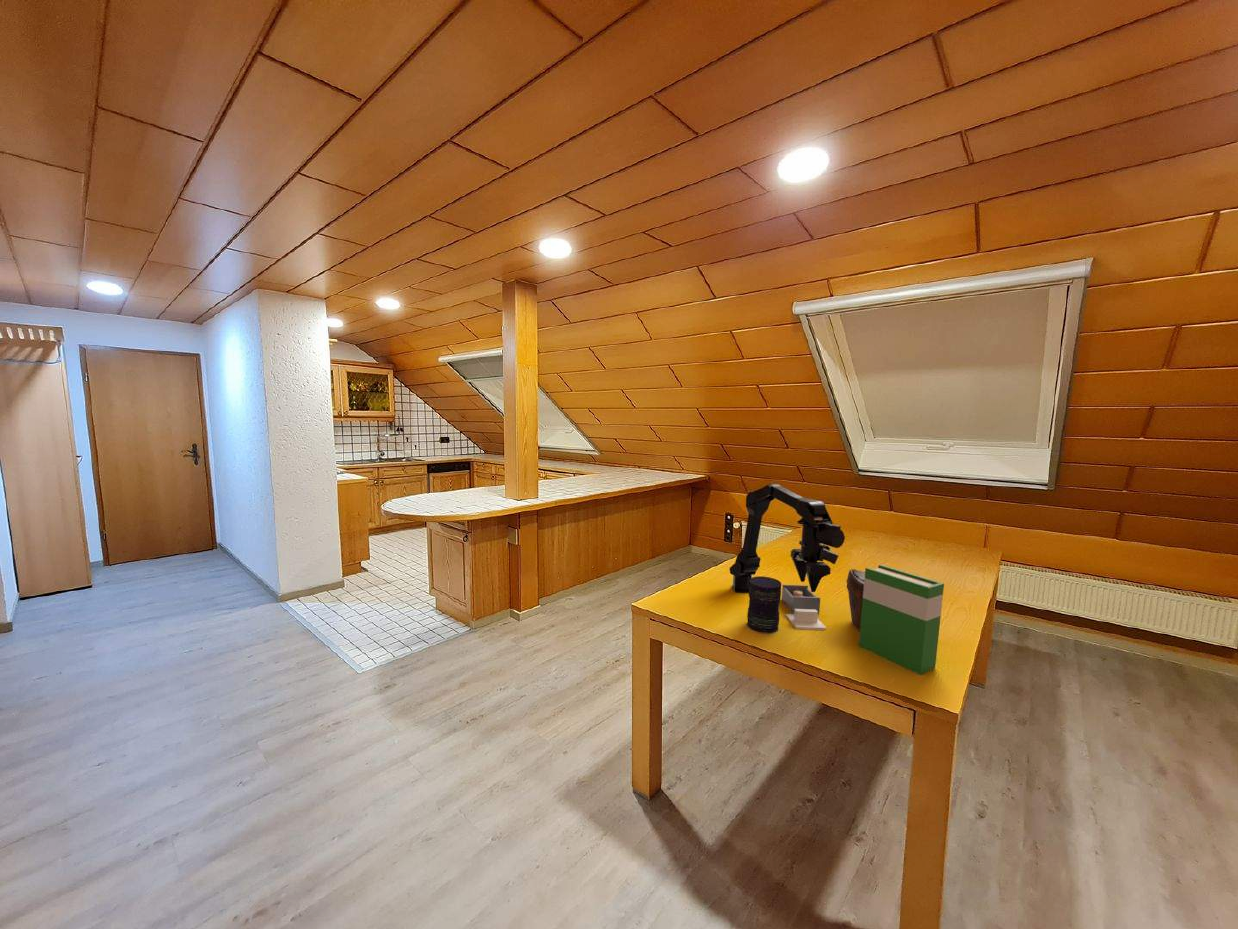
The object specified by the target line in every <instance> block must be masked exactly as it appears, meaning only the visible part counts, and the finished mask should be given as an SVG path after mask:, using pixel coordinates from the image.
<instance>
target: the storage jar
mask: <svg viewBox="0 0 1238 929" xmlns="http://www.w3.org/2000/svg"><path fill="white" fill-rule="evenodd" d="M748 598H749V600H748V608H747V612H746V614H747V618H746V619H747V623H746V626H747V628H749V630H751V631H754V632H755V633H761V634H774V633H777V632H778V631H779V624H780V603H781V600H782V582H781V581H780V580H779V579H776V578H773V577H769V576H761V575H760V576H759V575H758V576H753V577H752V578H750V585H749V593H748Z"/></svg>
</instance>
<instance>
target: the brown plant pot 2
mask: <svg viewBox="0 0 1238 929" xmlns="http://www.w3.org/2000/svg"><path fill="white" fill-rule="evenodd" d="M864 580H865V571H862V570H858V569H855V568H851V569H849V571H848V573H847V578H846V589H847V592H848V600H849V601H848V602H849V610H850V616H851V617H850V618H851V623H852V625H853V626H854V627H855V628H857V629H858V630H860V625H861V614H862V602H863V591H864Z"/></svg>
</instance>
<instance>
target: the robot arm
mask: <svg viewBox="0 0 1238 929" xmlns="http://www.w3.org/2000/svg"><path fill="white" fill-rule="evenodd" d="M775 499H776V500H777V501H780V502H781V503H784V504H785V505H787V506H789V507H791V508H792V509H794V511H795V512H796V514H797V515H799V517H801V519H799V520H798V521H797V522H796V523H797V524H799V525H801V527H802V529H801V540H799V541H798V544H799V545H800V548H792V550H791V551H790V557H791V560H792V562H793V565H794V567H795V570H796V572H797V575H798V577H799V579H800V580H799V581H800V582H802V583H804V582H805V581H806V577H807V580H808V586H809V590H810V591H811V592H812V593H815V592H816V590H817V588H818V587H819V584H820V582H821V580H822V579H823V578H824V577H827V576H829V575H831V570H832V568H831V566H829V565H828V564H827V563H826V562H829V563H831V564H832V565H836V563H837V560H838V558H839V556H840V555H838V554H837V553H836V552H834V551H832V550H831V548H830V547H832V548H835V549H840V548H841V547H842V546H843V545H844V543H845V539H846V536H845V533H844V531H843V530H842V529H841V525H839V524H834V522H833V520H832V518H831V516H830V514H829V512H828V510H827V507H826V504H825V503H824V502H823V501H821V500H818V499H812V498H808V497H803V496H801V495H799V494H796V493H795V492H792V490H789V489H787V488H786V487H783V486H782V485H780V484H778V483H772V484H771V483H769V484H766V485H765V486H762V487H761V488H759V489H756V490H754V491H750V492H748V493H747V494H746V498H745V508H746V510H747V513H748V516H747V521H746V526H745V527H746V529H745V533H744V538H743V544H742V549H741V550H740V552H738V554H737V555H736V558H735V562H734V563H733V564H732V565H731V566H730V567H729V569H728V570H729V573H730V575H732V576H733V578H732V579H733V580H732V584H731V588H732V589H733V592H735V593H748V594H749V585H750V578H752V576H754V575H756V573H757V570H759V568H760V564H761V559H762V558H761V556H759V555H758V552H757V547H758V542H759V538H760V537H759V536H760V532H761V524H762V521H763V520H762V519H763V516H764V514H765V513H766V512H767V511H768V510H769V507H770V505H771V504H770V503H771V502H773V501H774V500H775ZM824 561H826V562H824Z"/></svg>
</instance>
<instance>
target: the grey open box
mask: <svg viewBox="0 0 1238 929" xmlns="http://www.w3.org/2000/svg"><path fill="white" fill-rule="evenodd" d="M781 601H782V602H783V604H784V605H786V607H787V608H788V609H789V611H790V612H791V614H794V609H815V610H817V611H818V615H820V610H821V597H820V596H817V595H815V594H814V592H811V589H810V588H809V585H805V584H782V585H781Z"/></svg>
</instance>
